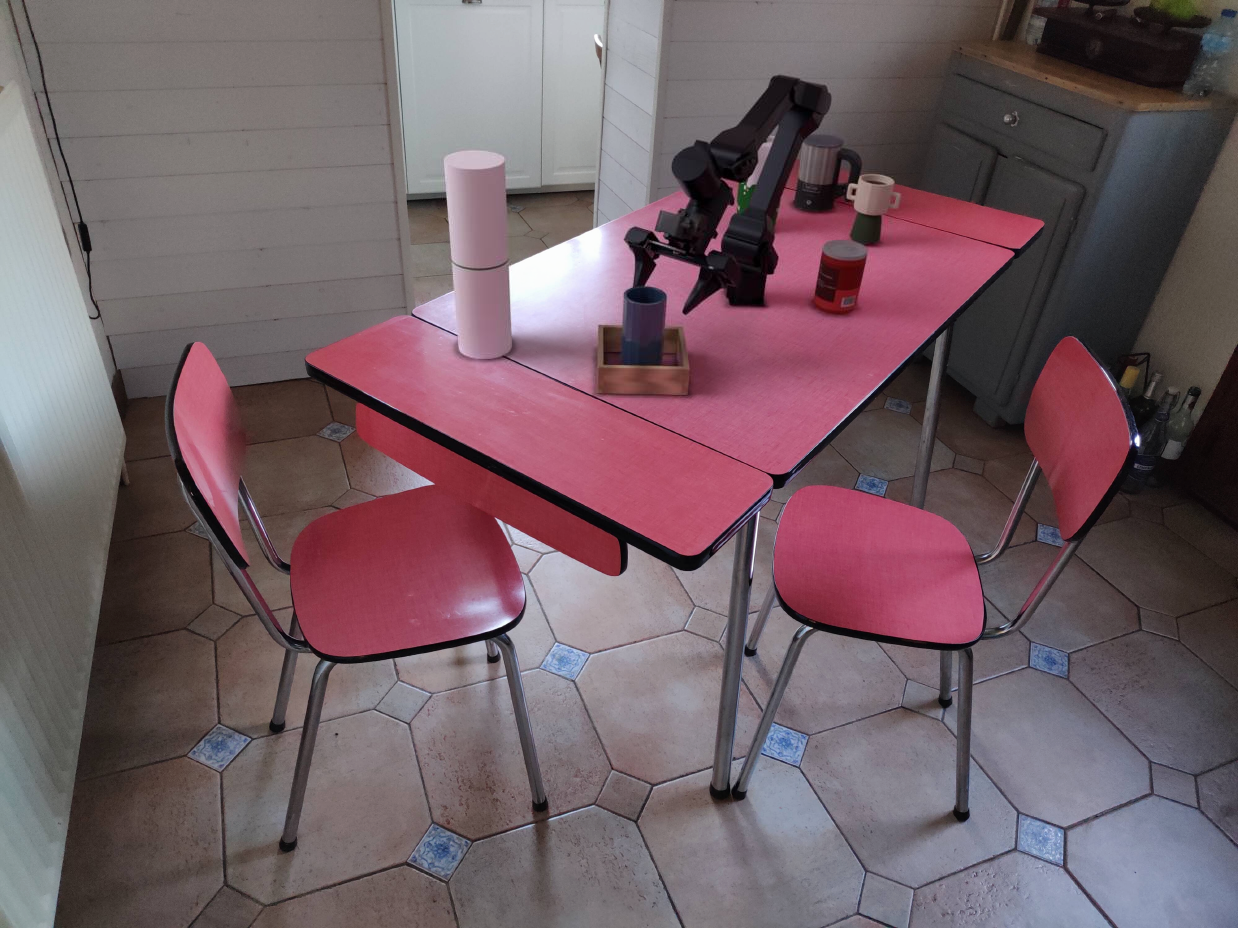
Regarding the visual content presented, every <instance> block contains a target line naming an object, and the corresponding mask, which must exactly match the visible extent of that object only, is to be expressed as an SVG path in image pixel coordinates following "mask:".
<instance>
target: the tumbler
mask: <svg viewBox="0 0 1238 928" xmlns="http://www.w3.org/2000/svg"><path fill="white" fill-rule="evenodd" d="M622 295H623V299H622V319H621V320H622V322H621V325H622V342H621V352H620V365H631V366H663V359H664V358H663V357H664V353H663V345H664V331H665V326H666V315H667V313H666V312H667V303H668V302H667V301H668V295H667V293H666V292H665V291H664V290H662V289H660V288H658V287H654V286H649V285H645V286H637V287H633V286H632V287H630V288H628V289H626V290H625V291H624V292H623V294H622Z"/></svg>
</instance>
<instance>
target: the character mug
mask: <svg viewBox="0 0 1238 928" xmlns="http://www.w3.org/2000/svg"><path fill="white" fill-rule="evenodd" d="M894 186H895V180H894V179H893V178H891V177H889V176H886V175H884V174H877V173H868V174H867V173H866V174H862V175H860V177H859V181H858V185H857V184H849V186H848V191H847V199H849V200H852V201H854V202H853V209H854V210H855V211H856V212H857V214H856V215H855V218H854V221H853V224H852V226H851V230H850V234H849V237H850V239H851V241H854V242H857V243H860V244H862V245H871V244H875V243H878V242H880V241H881V234H882V224H883V223H882V222H883V216H882V215H885V214H886V213H888V211H889V210H890V209H892V210H893V209H894V210H898V209H899V207H900V203H901V199H902V193H900V192H897V191H894ZM853 189H856V192H855V196H853V195H852V190H853ZM892 197H893V198H895V200H894V203H891V201H892Z"/></svg>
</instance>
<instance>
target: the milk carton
mask: <svg viewBox="0 0 1238 928" xmlns="http://www.w3.org/2000/svg"><path fill="white" fill-rule="evenodd" d="M774 138H775V135H771V134H770V135H769V137H768V138H767V139H766V140H765V142H764V143H763V144H762V146H761V147H760V149H759V150H758V164H757V166H756V168H755V170H754V172H753V174H752V175H751V176H750V177H749V178H748V180H747V181H745V182H744V183H737V184H738V185H737V193H736V194H737V195H736V213H737V214H740V213H742V212H743V211H744V210H745V209H746V208H747V206H748V204H749V201H750V199H751V196H752V194H753V191H754V189H755V186H756V184H757V181H758V179H759V176H760V174H761V171H762V168H763V166H764V163H765V161H766V158H767V156H768V153H769V151H770V148H771V146H772V143H773V140H774ZM781 199H782V198H781ZM781 199H780V201H779V204H778V206H777V209H776V211H775V214H774V216H773V219H772V222H773V228H774V229H775V226H776V222H777V219H778V214H779V211H780V206H781Z"/></svg>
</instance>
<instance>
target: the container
mask: <svg viewBox="0 0 1238 928" xmlns="http://www.w3.org/2000/svg"><path fill="white" fill-rule="evenodd" d="M505 159H506V158H505V157H504V156H503V155H501V154H500V153H497V152H493V151H489V150H481V149H480V150H479V149H478V150H477V149H471V150H470V149H469V150H460V151H456V152H452V153H449V154H447V155H445V157H444V158H443V168H444V169H443V170H444V180H445V193H446V204H447V218H448V230H449V243H450V244H449V245H450V254H451V256H450V257H451V269H452V278H453V279H452V283H453V294H454V307H455V317H456V318H455V319H456V320H455V321H456V330H457V331H456V332H457V343H458V350H459V352H460V353H461V354H462V355H464V356H465V357H468V358H470V359H475V360H476V359H477V360H492V359H497V358H500V357H503V356H505V355H507V354H508V353H510V352H511V350H512V348H513V338H512V337H513V336H512V313H511V310H512V309H511V288H510V286H511V285H510V263H509V262H510V260H509V258H510V257H509V236H508V235H509V234H508V233H509V232H508V209H507V206H508V205H507V183H506V179H507V178H506V160H505Z"/></svg>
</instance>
